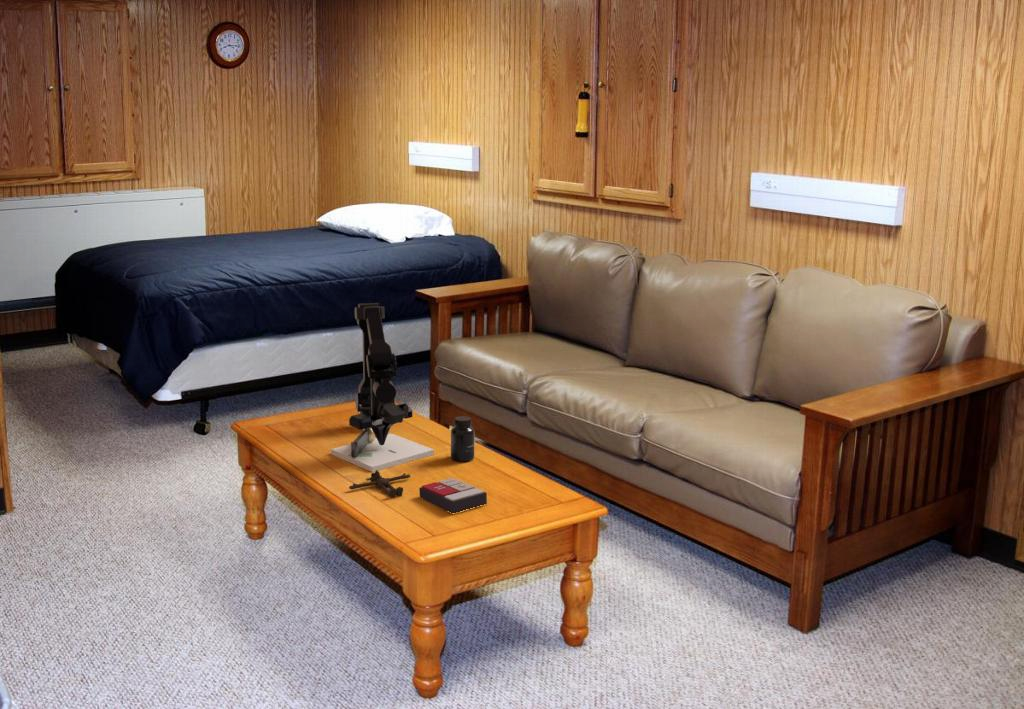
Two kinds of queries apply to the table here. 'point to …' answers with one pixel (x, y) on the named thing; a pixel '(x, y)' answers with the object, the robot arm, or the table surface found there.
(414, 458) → the dial board
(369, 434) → the pointer
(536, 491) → the table surface
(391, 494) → the black cross stand base
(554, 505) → the table surface
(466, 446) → the supplement bottle
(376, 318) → the robot arm
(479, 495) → the red grey black box
